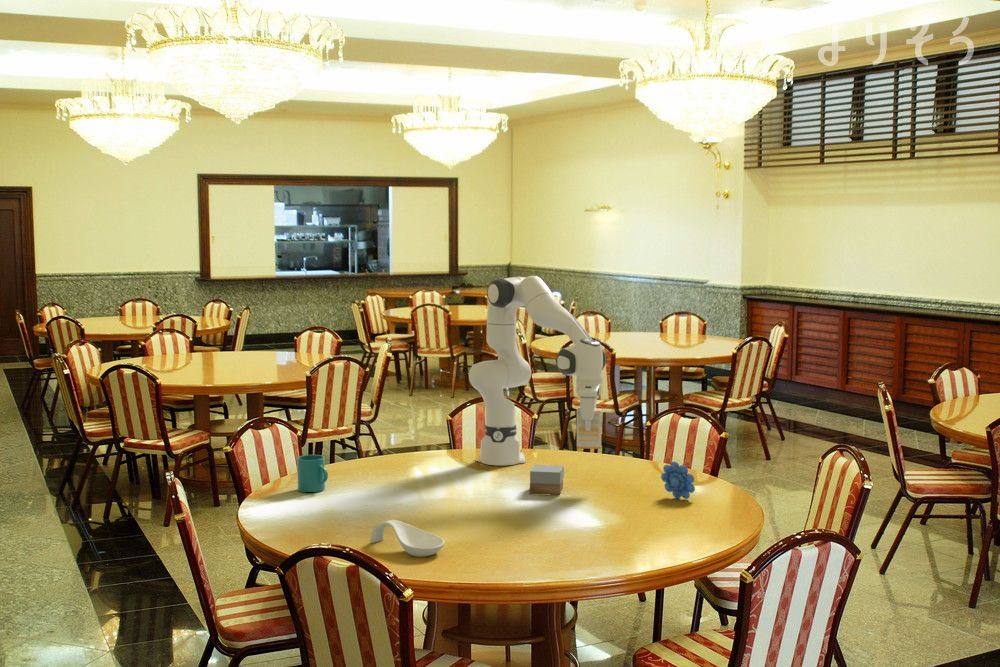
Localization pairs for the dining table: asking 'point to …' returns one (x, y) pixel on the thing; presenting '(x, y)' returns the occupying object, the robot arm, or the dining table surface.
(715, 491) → the dining table surface
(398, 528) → the spoon rest
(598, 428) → the supplement box
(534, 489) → the tower bottom
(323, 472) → the cup
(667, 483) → the blue flower-shaped disc
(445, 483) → the dining table surface
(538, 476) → the tower top
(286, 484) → the dining table surface
